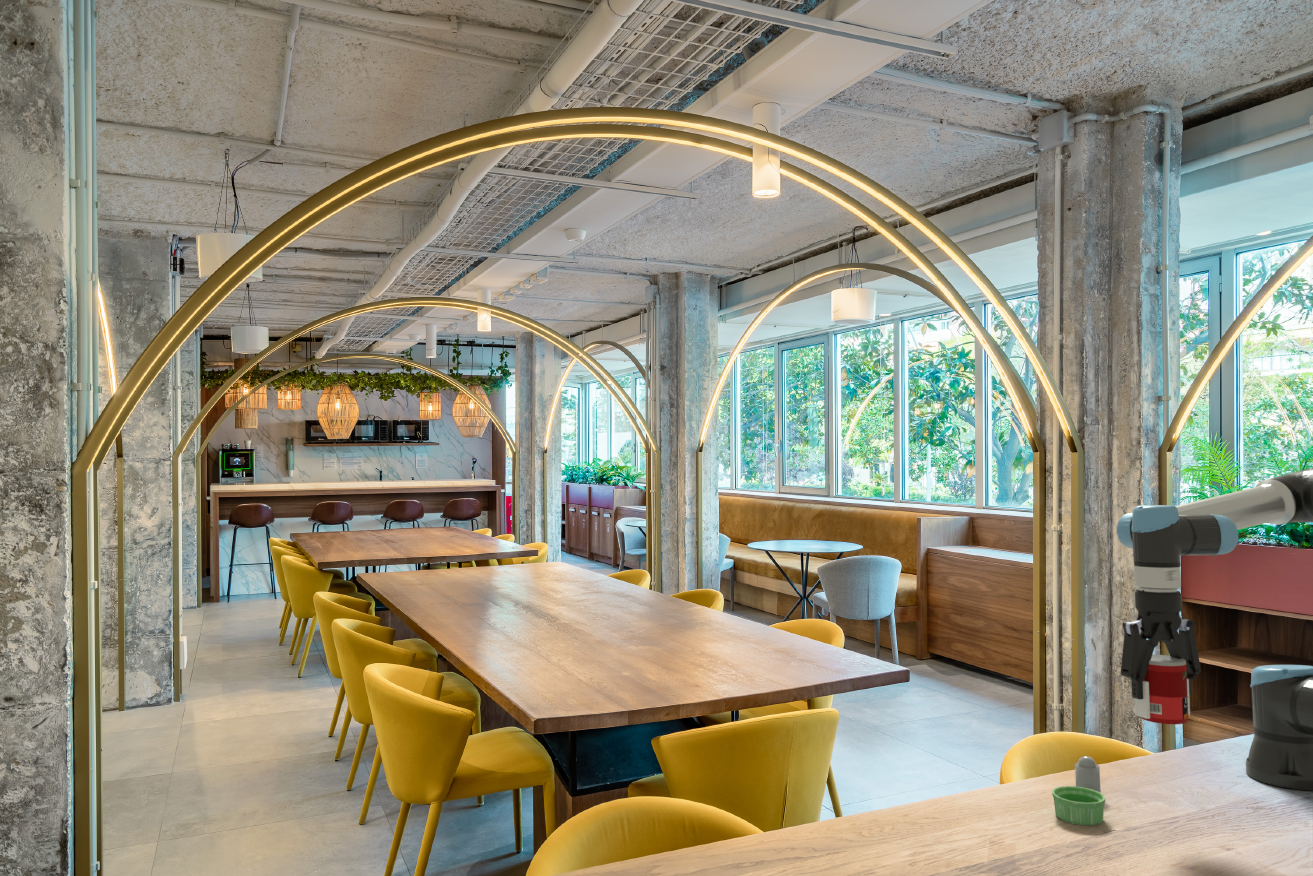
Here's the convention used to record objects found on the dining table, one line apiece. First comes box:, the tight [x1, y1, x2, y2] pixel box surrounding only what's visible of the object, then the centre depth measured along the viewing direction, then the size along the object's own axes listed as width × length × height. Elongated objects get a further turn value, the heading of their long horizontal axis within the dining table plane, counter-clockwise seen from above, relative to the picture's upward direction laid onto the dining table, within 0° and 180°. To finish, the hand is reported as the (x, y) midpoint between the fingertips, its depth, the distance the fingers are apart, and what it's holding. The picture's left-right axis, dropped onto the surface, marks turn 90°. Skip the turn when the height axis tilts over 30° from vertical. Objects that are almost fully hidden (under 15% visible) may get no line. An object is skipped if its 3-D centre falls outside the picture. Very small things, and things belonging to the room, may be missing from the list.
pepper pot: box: [1074, 755, 1102, 794], centre depth 176 cm, size 4×4×8 cm
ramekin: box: [1051, 785, 1106, 827], centre depth 165 cm, size 9×9×4 cm
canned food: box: [1140, 654, 1189, 725], centre depth 162 cm, size 8×8×11 cm
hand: (1162, 715), depth 162 cm, fingers closed on canned food, 8 cm apart
